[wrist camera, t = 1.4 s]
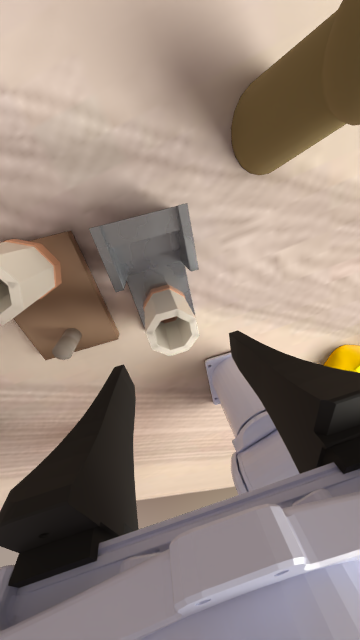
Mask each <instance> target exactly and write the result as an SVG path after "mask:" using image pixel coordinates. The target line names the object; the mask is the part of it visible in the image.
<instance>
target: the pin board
mask: <svg viewBox="0 0 360 640" xmlns="http://www.w3.org/2000/svg"><path fill="white" fill-rule="evenodd" d="M29 242H35V243H40V244H42V245H43V246H44V247H45V248H46V249H47V250H48V251H49V252H50V253H51V254H52V255H53V256H54V257H55V258H56V259H57V260H58V261H59V262H60V265H61V281H62V283H61V284H60V285H58V286H57V287H56V288H55V289H53V290H52V291H51V292H49V293H48V294H47V295H45V296H44V297H43V298H42V299H38V300H37V301H35V302H34V303H33V304H31V305H30V306H29V307H27V308H26V309H25V310H24V311H22V312H21V313H20V314H18V315H17V316H16V317H14V318H13V319H14V320H15V321H16V323H17V324H18V325H19V327H20V328H21V329H22V330H23V332H24V333H25V334H26V336H27V337H28V338H29V339H30V341H31V342H32V343H33V345H34V346H35V347H36V349H37V350H38V351H39V352H40V354H41V355H42V356H43V358H44V359H45V360H48V359H52V358H55V357H56V358H58V359H62V360H65V359H69V358H70V357H71V356H72V354H73V352H76V351H79V350H83V349H86V348H90V347H93V346H96V345H100V344H103V343H107V342H110V341H114V340H117V339H118V337H119V332H118V330H117V328H116V326H115V323H114V321H113V319H112V317H111V315H110V313H109V311H108V308H107V306H106V304H105V302H104V300H103V298H102V296H101V294H100V291H99V289H98V287H97V285H96V283H95V281H94V279H93V276H92V274H91V272H90V270H89V268H88V266H87V264H86V261H85V259H84V257H83V255H82V253H81V251H80V249H79V246H78V244H77V242H76V240H75V238H74V236H73V234H72V232H71V231H67V232H63V233H59V234H55V235H51V236H47V237H43V238H39V239H35V240H32V241H29ZM0 283H1V284H3V285H4V286H6V287H8V285H7V284H6V283H4V282H3V281H2V280H1V279H0ZM8 288H9V287H8Z"/></svg>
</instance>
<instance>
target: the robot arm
mask: <svg viewBox="0 0 360 640" xmlns="http://www.w3.org/2000/svg"><path fill="white" fill-rule="evenodd" d="M229 337H230V346H231V352H230V353H227V354H223V355H220V356H217V357H213V358H210V359H207V360H206V361H205V366H206V371H207V376H208V381H209V385H210V390H211V395H212V400H213V403H214V404H215V405H217V404H221V406H222V408H223V411H224V413H225V415H226V418H227V420H228V422H229V424H230V427H231V429H232V431H233V434H234V436H235V439H234V440H232V443H233V445H234V447H235V450H236V452H234V453H233V454H232V457H231V472H232V477H233V481H234V484H235V487H236V489H237V492H238V494H239V495H237V496H234V497H232V498H229V499H226V500H223V501H220V502H217V503H214V504H211V505H208V506H205V507H203V508H200V509H197V510H194V511H191V512H188V513H185V514H182V515H179V516H177V517H174V518H171V519H168V520H165V521H162V522H160V523H156V524H153V525H151V526H148V527H145V528H142V529H139V530H138V519H137V510H136V509H137V508H136V495H135V481H134V460H133V432H134V417H135V386H134V384H133V382H132V380H131V378H130V376H129V374H128V372H127V370H126V368H125V366H124V365H121V366H117V367H115V368H114V369H113V371H112V373H111V374H110V376H109V378H108V379H107V381H106V383H105V384H104V386H103V388H102V389H101V391H100V392H99V394H98V396H97V397H96V399H95V400H94V402H93V403H92V405H91V406H90V408H89V409H88V410H87V412H86V413H85V414H84V416H83V417H82V418H81V420H80V421H79V422H78V423H77V425H76V426H75V427H74V428H73V429H72V431H71V432H70V433H69V434H68V435H67V436H66V437H65V438H64V440H63V441H62V442H61V443H60V444H59V445H58V446H57V447H56V448H55V449H54V450H53V451H52V452H51V453H50V454H49V455H48V456H47V457H46V458H45V459H44V460H43V461H42V462H41V463H40V464H39V465H38V466H37V467H36V468H35V469H34V470H33V471H32V472H31V473H30V474H29V475H27V476H26V477H25V478H24V479H23V480H22V481H21V482H20V483H19V484H17V485H16V486H15V487H14V488H13V489H12V490H11V491H10V493H9V495H8V497H7V499H6V501H5V503H4V505H3V507H2V509H1V511H0V546H1V547H4V548H7V549H9V550H12V551H15V552H18V553H19V556H18V558H17V561H16V564H15V565H8V566H4V567H0V640H360V373H359V372H353V371H347V370H342V369H337V368H332V367H328V366H324V365H319V364H316V363H312V362H309V361H305V360H302V359H299V358H296V357H293V356H290V355H287V354H285V353H282V352H280V351H277V350H275V349H273V348H270V347H268V346H266V345H264V344H262V343H260V342H258V341H256V340H254V339H252V338H251V337H249V336H247V335H245V334H243V333H241V332H239V331H235V332H231V333H229ZM208 365H209V366H208Z"/></svg>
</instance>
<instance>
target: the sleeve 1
mask: <svg viewBox="0 0 360 640" xmlns="http://www.w3.org/2000/svg"><path fill="white" fill-rule="evenodd" d="M0 279H1V280H2V281H3V282H4V283H6V284H7V285H8V287H9V288H8V287H6V286H4V285H3V284H1V283H0V325H5V324H6V323H8V322H9V321H10V320H12V319H13V318H14V317H16V316H17V315H18V314H20V313H21V312H22V311H24V310H25V309H26V308H27V307H29V306H30V305H31V304H33V303H34V302H35V301H37V300H38V299H42V298H43V297H44V296H45V295H47V294H48V293H49V292H51V291H52V290H53V289H55V288H56V287H57V286H58V285H60V284H61V283H62V281H61V265H60V262H59V261H58V260H57V259H56V258H55V257H54V256H53V255H52V254H51V253H50V252H49V251H48V250H47V249H46V248H45V247H44V246H43V245H42V244H40V243H35V242H29V241H24V240H18V239H12V240H5V241H4V242H2V243H0Z"/></svg>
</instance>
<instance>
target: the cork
mask: <svg viewBox="0 0 360 640" xmlns="http://www.w3.org/2000/svg"><path fill="white" fill-rule="evenodd" d="M345 124H350V125H360V0H343V1H342V3H341V5H340V7H339V9H338V10H337V11H336V12H335V13H334V14H332V15H331V16H330V17H329V18H328V19H326V20H325V21H324V22H323V23H322V24H321V25H319V26H318V27H317V28H316V29H315V30H313V31H312V32H311V33H310V34H309V35H308V36H306V37H305V38H304V39H303V40H302V41H301V42H299V43H298V44H297V45H296V46H295V47H293V48H292V49H291V50H290V51H289V52H288V53H286V54H285V55H284V56H283V57H282V58H281V59H279V60H278V61H277V62H276V63H275V64H273V65H272V66H271V67H270V68H269V69H268V70H266V71H265V72H264V73H263V74H262V75H260V76H259V77H258V78H257V79H256V80H255V81H253V82H252V83H251V84H250V85H249V86H248V88H247V89H246V90H245V92H244V93H243V94H242V96H241V97H240V99H239V102H238V104H237V106H236V109H235V111H234V116H233V121H232V126H231V137H232V146H233V150H234V153H235V157H236V159H237V160H238V162H239V163H240V165H241V166H242V167H243V168H244V169H245V170H247V171H248V172H249V173H252V174H256V175H263V174H268V173H271V172H272V171H274V170H275V169H277V168H279V167H280V166H282V165H283V164H285V163H286V162H288V161H289V160H291V159H293V158H294V157H296V156H297V155H299V154H300V153H302V152H303V151H305V150H307V149H308V148H310V147H311V146H313V145H314V144H316V143H317V142H319V141H320V140H322V139H324V138H325V137H327V136H328V135H330V134H331V133H333V132H334V131H336V130H338V129H339V128H341V127H342V126H344V125H345Z"/></svg>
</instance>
